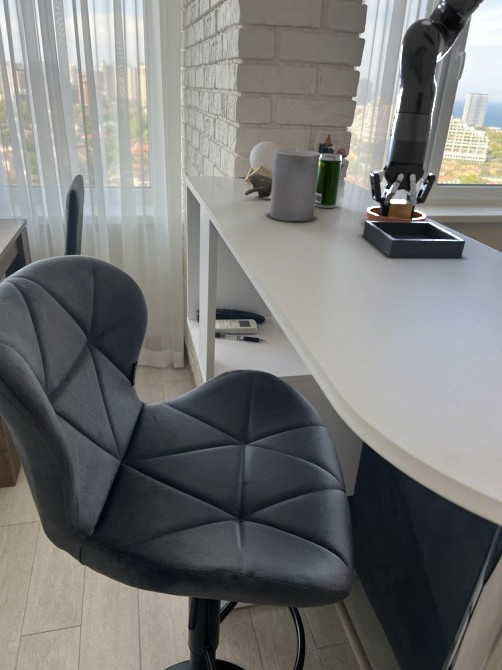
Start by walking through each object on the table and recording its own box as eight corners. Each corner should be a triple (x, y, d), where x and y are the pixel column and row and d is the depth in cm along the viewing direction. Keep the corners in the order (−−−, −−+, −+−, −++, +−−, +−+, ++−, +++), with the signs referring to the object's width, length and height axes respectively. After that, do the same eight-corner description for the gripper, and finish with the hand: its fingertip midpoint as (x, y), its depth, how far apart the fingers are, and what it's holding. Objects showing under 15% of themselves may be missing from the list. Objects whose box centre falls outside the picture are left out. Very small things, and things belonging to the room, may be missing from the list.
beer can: (326, 209, 120) (332, 156, 115) (309, 205, 124) (314, 153, 119) (340, 207, 124) (346, 155, 119) (323, 202, 127) (328, 152, 122)
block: (400, 220, 111) (403, 199, 109) (408, 225, 107) (412, 204, 105) (380, 220, 110) (384, 199, 108) (388, 225, 106) (392, 203, 104)
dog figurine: (290, 197, 131) (292, 168, 128) (292, 202, 126) (295, 171, 123) (244, 195, 131) (245, 165, 127) (244, 200, 125) (245, 169, 122)
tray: (427, 237, 102) (430, 221, 101) (461, 258, 90) (465, 240, 88) (362, 236, 100) (365, 220, 98) (389, 257, 88) (392, 240, 86)
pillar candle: (283, 209, 118) (289, 141, 111) (321, 217, 113) (329, 146, 106) (261, 216, 110) (265, 143, 104) (299, 224, 106) (307, 149, 99)
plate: (408, 220, 115) (410, 206, 114) (433, 234, 104) (436, 219, 103) (357, 219, 113) (359, 205, 112) (376, 233, 102) (379, 218, 101)
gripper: (382, 138, 96) (368, 226, 104) (452, 140, 98) (433, 227, 106) (368, 134, 103) (357, 218, 111) (434, 137, 105) (418, 219, 113)
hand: (394, 222), depth 108 cm, fingers closed on block, 4 cm apart
